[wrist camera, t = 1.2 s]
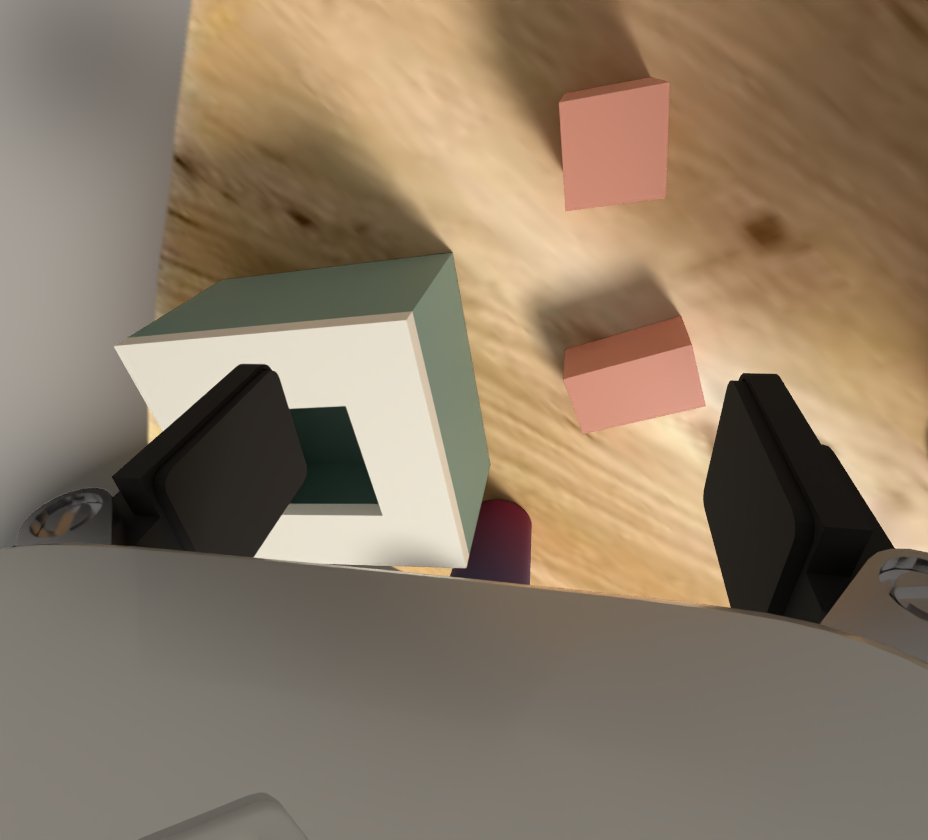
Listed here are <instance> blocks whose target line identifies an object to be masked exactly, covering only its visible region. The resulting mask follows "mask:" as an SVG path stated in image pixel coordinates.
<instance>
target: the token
mask: <svg viewBox="0 0 928 840" xmlns="http://www.w3.org/2000/svg"><path fill="white" fill-rule="evenodd" d="M563 381H564V383H565V386H566V389H567V391H568V394H569V397H570V400H571V402H572V405H573V408H574V411H575V413H576V416H577V419H578V421H579V424H580V427H581V430H582V432H583V434H585V433H590V432H594V431H599V430H603V429H607V428H612V427H616V426H621V425H625V424H629V423H634V422H638V421H643V420H647V419H652V418H656V417H660V416H665V415H669V414H674V413H678V412H682V411H687V410H691V409H696V408H700V407H704V406H706V405H705V401H704V396H703V392H702V388H701V383H700V379H699V374H698V370H697V365H696V361H695V356H694V352H693V347H692V344H691V341H690V338H689V336H688V333H687V330H686V328H685V325H684V322H683V320H682V317H681V316H679V317H676V318H672V319H669V320H665V321H662V322H658V323H655V324H652V325H648V326H645V327H641V328H638V329H634V330H631V331H627V332H624V333H620V334H617V335H614V336H610V337H607V338H603V339H600V340H596V341H593V342H589V343H586V344H582V345H579V346H576V347H572V348H569V349H565V358H564V373H563Z"/></svg>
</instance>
